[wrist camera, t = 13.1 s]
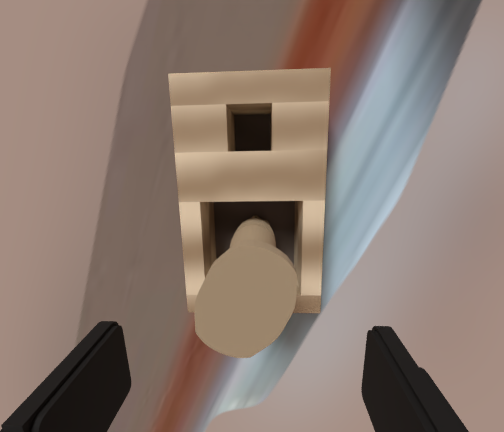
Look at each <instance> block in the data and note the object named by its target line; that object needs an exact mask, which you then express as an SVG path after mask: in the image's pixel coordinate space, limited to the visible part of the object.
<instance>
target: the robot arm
mask: <svg viewBox="0 0 504 432" xmlns="http://www.w3.org/2000/svg"><path fill="white" fill-rule="evenodd" d="M130 388H131V376H130V370H129V364H128V359H127V353H126V347H125V341H124V335H123V329H122V327H121V326H119V325H118V323H117V322H114V321H101V322H99V323H98V324H97V325H96V326H95V327H94V328H93V329H92V330H91V331H90V332H89V333H88V335H87V336H86V337H85V338H84V339H83V340H82V341H81V342H80V343H79V344H78V345H77V346H76V347H75V348H74V349H73V350H72V351H71V353H70V354H69V355H68V356H67V357H66V358H65V359H64V360H63V361H62V362H61V363H60V364H59V365H58V366H57V367H56V368H55V369H54V371H52V372H51V374H50V375H49V376H48V377H47V378H46V379H45V380H44V381H43V382H42V383H41V384H40V385H39V386H38V387H37V388H36V389H35V390H34V391H33V393H32V394H31V395H30V396H29V397H28V398H27V399H26V400H25V401H24V402H23V403H22V404H21V405H20V406H19V407H18V408H17V409H16V410H15V411H14V413H13V414H12V415H11V416H10V417H9V418H8V419H7V420H6V421H5V422H4V423H3V424H2V429H1V431H0V432H107V430H108V428H109V427H110V425H111V423H112V421H113V420H114V418H115V416H116V414H117V412H118V411H119V409H120V407H121V405H122V404H123V402H124V400H125V398H126V396H127V395H128V393H129V391H130ZM362 397H363V400H364V403H365V405H366V408H367V411H368V414H369V416H370V419H371V422H372V424H373V427H374V430H375V432H468V430H467V429H466V427H465V426H464V424H463V423H462V422H461V420H460V419H459V417H458V416H457V414H456V413H455V412H454V410H453V409H452V407H451V406H450V404H449V403H448V401H447V400H446V399H445V397H444V396H443V394H442V393H441V391H440V390H439V389H438V387H437V386H436V384H435V383H434V382H433V380H432V379H431V377H430V376H429V374H428V373H427V372H426V371H425V370H424V369H422V368H420V367H418V366H417V364H416V363H415V361H414V360H413V358H412V357H411V355H410V354H409V352H408V351H407V349H406V348H405V346H404V345H403V344H402V342H401V341H400V339H399V338H398V336H397V335H396V333H395V332H394V330H393V329H392V328H391V327H389V326H374V327H373V328H372V330H369V331H368V333H367V341H366V351H365V361H364V370H363V379H362Z"/></svg>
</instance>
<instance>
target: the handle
mask: <svg viewBox="0 0 504 432" xmlns="http://www.w3.org/2000/svg"><path fill="white" fill-rule="evenodd" d="M296 294H297V272H296V269H295V267H294V265H293V263H292V262H291V260H290V259H289V258H288V256H287V255H286V254H284V253H283V252H282V251H281V250H279V249H278V248H276V241H275V236H274V233H273V230H272V228H271V227H270V224H269V222H268V221H267V220H263V219H261V218H259V217H258V216H257V215H255V216H252V218H250V219H247V220H245V221H244V222H242V223H241V225H240V226H239V227H238V228H237V230H236V232H235V233H234V236H233V238H232V240H231V244H230V248H229V249H228V250H227V251H226V252H225V253H223V254H222V255H221V256H220V257H219V258H218V259H216V260H215V261H214V262H213V264H212V266H211V267H210V269H209V271H208V274H207V276H206V278H205V280H204V282H203V284H202V286H201V288H200V290H199V292H198V295H197V298H196V300H195V331H196V333H197V335H198V336H199V338H200V339H201V340H202V341H203V342H204V343H205V344H206V345H208V346H209V347H210V348H212V349H214V350H215V351H217V352H219V353H222V354H224V355H227V356H231V357H236V358H248V357H252V356H253V355H255V354H256V353H258V352H260V351H261V350H263V349H264V348H266V347H267V346H269V345H270V344H271V343H272V342H274V341H275V340H276V339H277V338H278V336H279V335H280V334H281V332H282V331H283V329H284V327H285V326H286V324H287V322H288V321H289V319H290V317H291V315H292V313H293V311H294V308H295V303H296Z"/></svg>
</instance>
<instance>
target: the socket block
mask: <svg viewBox="0 0 504 432" xmlns="http://www.w3.org/2000/svg"><path fill="white" fill-rule="evenodd" d="M330 73H331V68H316V69H288V70H260V71H231V72H203V73H175V74H168V77H169V89H170V101H171V113H172V125H173V137H174V149H175V161H176V173H177V185H178V197H179V209H180V221H181V233H182V245H183V257H184V269H185V281H186V293H187V305H188V312H195V300H196V298H197V295H198V292H199V290H200V288H201V286H202V284H203V282H204V280H205V278H206V276H207V274H208V271H209V269H210V267H211V266H212V264H213V262H214V261H215V260H216V259H218V258H219V257H220V256H221V255H222V254H223V253H225V252H226V251H227V250H228V249H229V248H230V244H231V240H232V238H233V236H234V233H235V232H236V230H237V228H238V227H239V226H240V225H241V223H242V222H244V221H245V220H247V219H250V218H252V216H255V215H257V216H258V217H259V218H261V219H263V220H267V221H268V222H269V224H270V227H271V228H272V230H273V233H274V236H275V241H276V248H278V249H279V250H281V251H282V252H283V253H284V254H286V255H287V256H288V258H289V259H290V260H291V262H292V263H293V265H294V267H295V269H296V272H297V294H296V303H295V308H294V311H293V313H320V306H321V282H322V259H323V236H324V213H325V189H326V166H327V143H328V120H329V96H330Z"/></svg>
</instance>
